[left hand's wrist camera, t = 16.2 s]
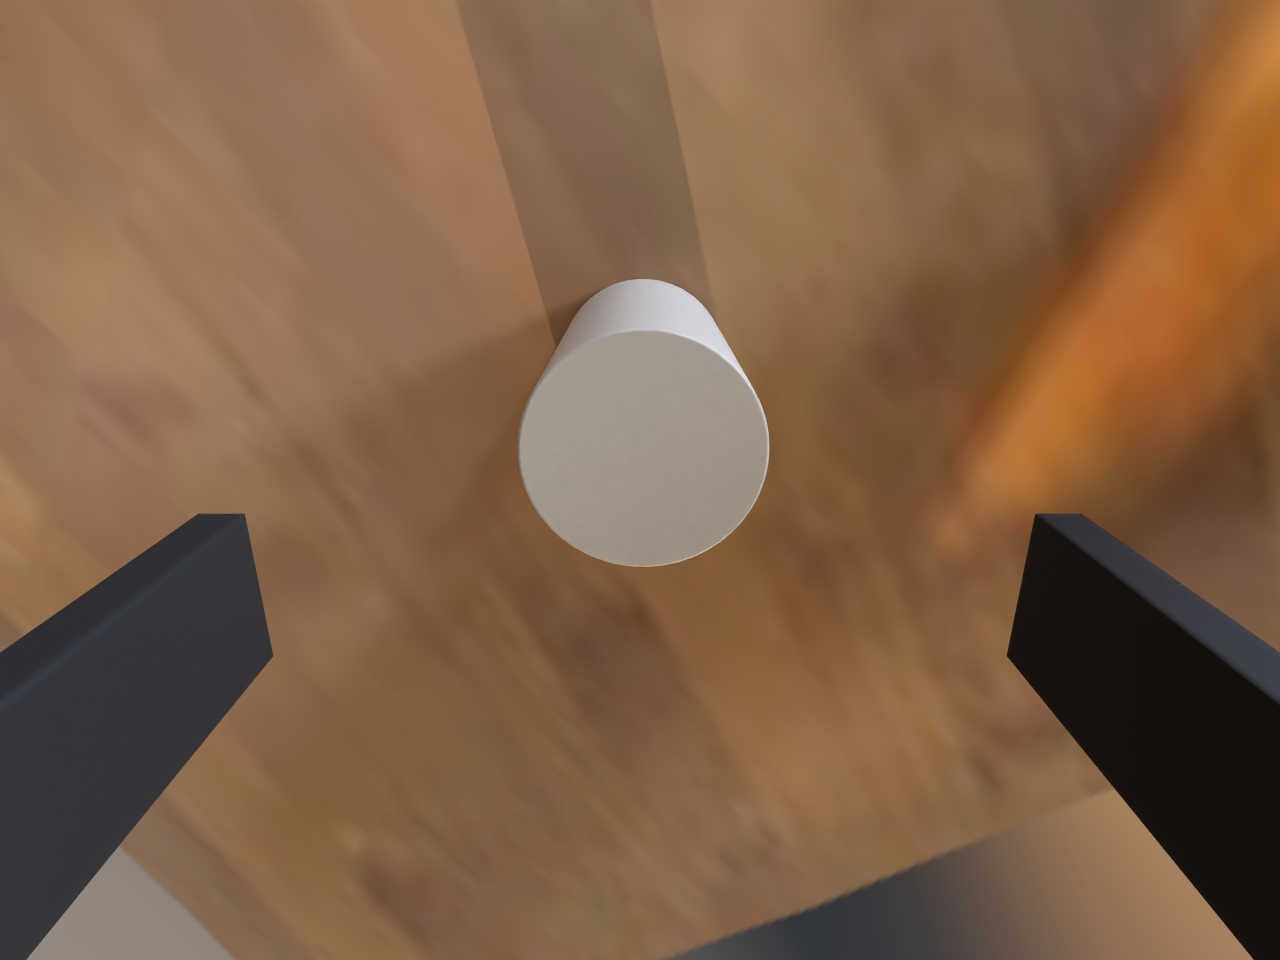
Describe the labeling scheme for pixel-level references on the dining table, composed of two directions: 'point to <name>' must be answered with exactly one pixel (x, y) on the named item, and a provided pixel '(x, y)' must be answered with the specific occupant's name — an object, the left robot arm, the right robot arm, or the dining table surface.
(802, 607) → the dining table surface
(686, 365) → the cylinder
